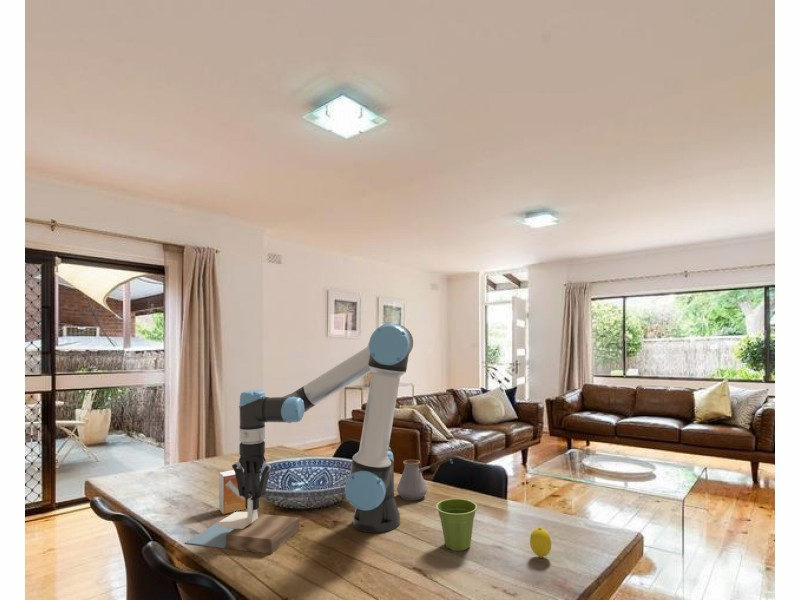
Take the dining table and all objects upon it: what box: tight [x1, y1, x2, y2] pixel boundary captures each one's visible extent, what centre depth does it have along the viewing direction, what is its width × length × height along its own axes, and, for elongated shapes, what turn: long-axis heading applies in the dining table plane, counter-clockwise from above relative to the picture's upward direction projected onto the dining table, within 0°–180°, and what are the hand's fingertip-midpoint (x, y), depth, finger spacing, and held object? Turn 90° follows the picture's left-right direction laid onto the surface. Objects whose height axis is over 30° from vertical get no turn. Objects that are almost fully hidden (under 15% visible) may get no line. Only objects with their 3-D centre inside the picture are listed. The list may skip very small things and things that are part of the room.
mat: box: [184, 521, 233, 549], centre depth 148 cm, size 14×16×1 cm
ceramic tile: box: [218, 511, 259, 529], centre depth 147 cm, size 8×8×2 cm
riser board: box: [225, 513, 300, 555], centre depth 144 cm, size 15×16×4 cm
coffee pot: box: [396, 457, 454, 501], centre depth 177 cm, size 21×12×15 cm, turn 73°
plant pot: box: [435, 498, 478, 552], centre depth 137 cm, size 12×12×11 cm
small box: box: [218, 469, 247, 515], centre depth 169 cm, size 8×6×13 cm
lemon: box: [529, 526, 552, 559], centre depth 129 cm, size 6×6×8 cm
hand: (252, 519), depth 145 cm, fingers closed
